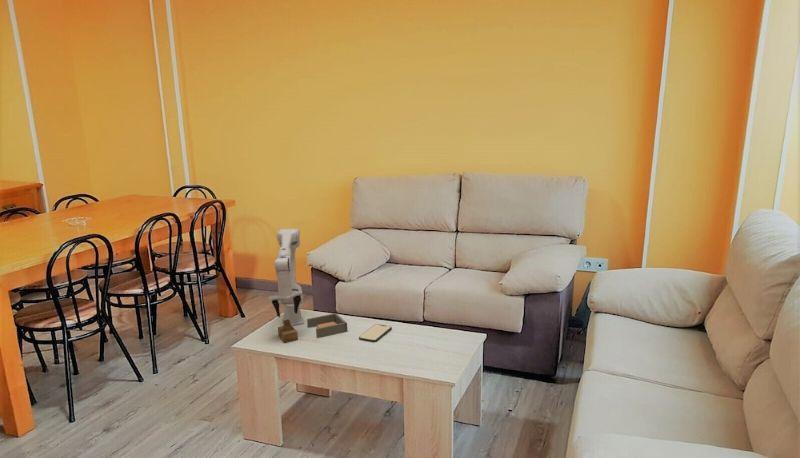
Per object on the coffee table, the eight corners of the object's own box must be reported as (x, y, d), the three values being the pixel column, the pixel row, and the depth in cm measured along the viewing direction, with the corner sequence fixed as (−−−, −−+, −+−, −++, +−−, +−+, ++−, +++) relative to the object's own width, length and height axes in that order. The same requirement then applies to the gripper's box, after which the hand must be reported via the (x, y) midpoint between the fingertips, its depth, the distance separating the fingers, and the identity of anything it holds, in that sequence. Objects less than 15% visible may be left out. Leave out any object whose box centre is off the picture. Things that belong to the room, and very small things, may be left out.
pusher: (278, 335, 261) (276, 318, 259) (291, 332, 263) (290, 315, 262) (284, 343, 252) (282, 326, 250) (298, 340, 255) (296, 323, 253)
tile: (317, 329, 267) (316, 325, 267) (333, 325, 270) (333, 321, 270) (322, 335, 260) (322, 331, 260) (339, 331, 263) (339, 327, 263)
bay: (307, 327, 268) (306, 318, 267) (336, 321, 274) (336, 313, 273) (317, 337, 256) (316, 329, 255) (347, 331, 262) (346, 322, 261)
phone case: (375, 344, 249) (393, 329, 263) (375, 340, 249) (392, 326, 263) (357, 341, 253) (375, 326, 267) (357, 337, 253) (375, 323, 266)
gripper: (270, 290, 247) (273, 320, 250) (303, 284, 253) (306, 314, 256) (266, 285, 253) (269, 315, 256) (299, 280, 259) (301, 309, 262)
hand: (287, 314), depth 256 cm, fingers open, 7 cm apart
